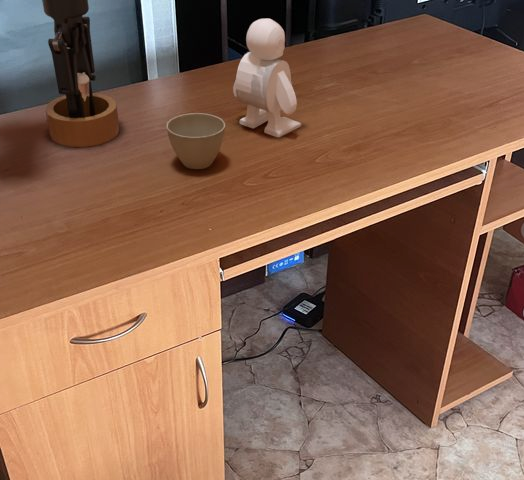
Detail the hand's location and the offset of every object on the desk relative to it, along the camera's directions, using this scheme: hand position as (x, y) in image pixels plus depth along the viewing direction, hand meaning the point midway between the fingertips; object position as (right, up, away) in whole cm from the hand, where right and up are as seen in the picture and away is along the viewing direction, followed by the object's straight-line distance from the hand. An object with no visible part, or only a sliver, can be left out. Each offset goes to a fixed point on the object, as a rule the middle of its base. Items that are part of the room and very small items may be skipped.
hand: (83, 121), depth 147 cm
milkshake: (0, 0, 0) cm, 0 cm away
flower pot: (+22, -10, -8) cm, 25 cm away
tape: (0, -2, +1) cm, 2 cm away
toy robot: (+34, 0, +4) cm, 34 cm away
